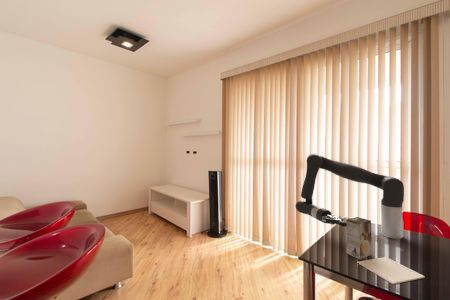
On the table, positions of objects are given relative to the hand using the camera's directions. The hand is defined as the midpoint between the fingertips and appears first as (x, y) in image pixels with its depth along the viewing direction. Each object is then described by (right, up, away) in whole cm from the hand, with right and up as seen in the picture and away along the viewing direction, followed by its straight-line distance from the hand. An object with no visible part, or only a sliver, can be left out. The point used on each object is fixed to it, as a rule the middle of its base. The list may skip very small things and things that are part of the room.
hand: (345, 224), depth 102 cm
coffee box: (+2, -11, -8) cm, 14 cm away
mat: (+6, -11, -20) cm, 23 cm away
